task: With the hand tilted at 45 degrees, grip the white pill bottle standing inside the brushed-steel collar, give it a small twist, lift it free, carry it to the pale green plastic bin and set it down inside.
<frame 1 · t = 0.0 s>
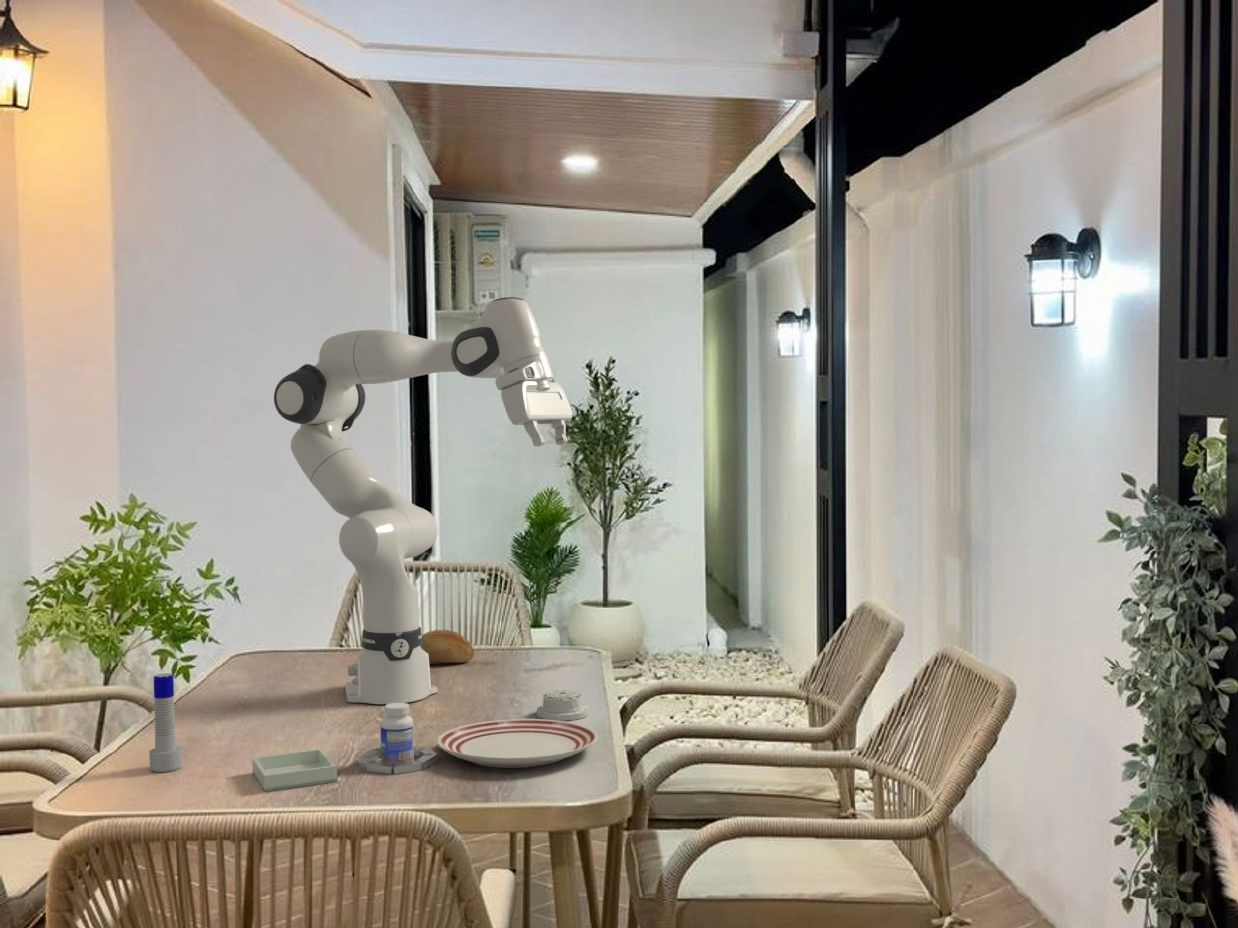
hand: (551, 444, 231), 52 cm above the table, fingers open, 8 cm apart
dinner plate: (518, 755, 208), on the table
pill bottle: (397, 763, 202), resting in collar
mechanical component: (562, 716, 233), on the table
bolt: (166, 769, 200), on the table
bread roll: (441, 665, 281), on the table
bin: (294, 776, 195), on the table
collar: (397, 762, 202), on the table
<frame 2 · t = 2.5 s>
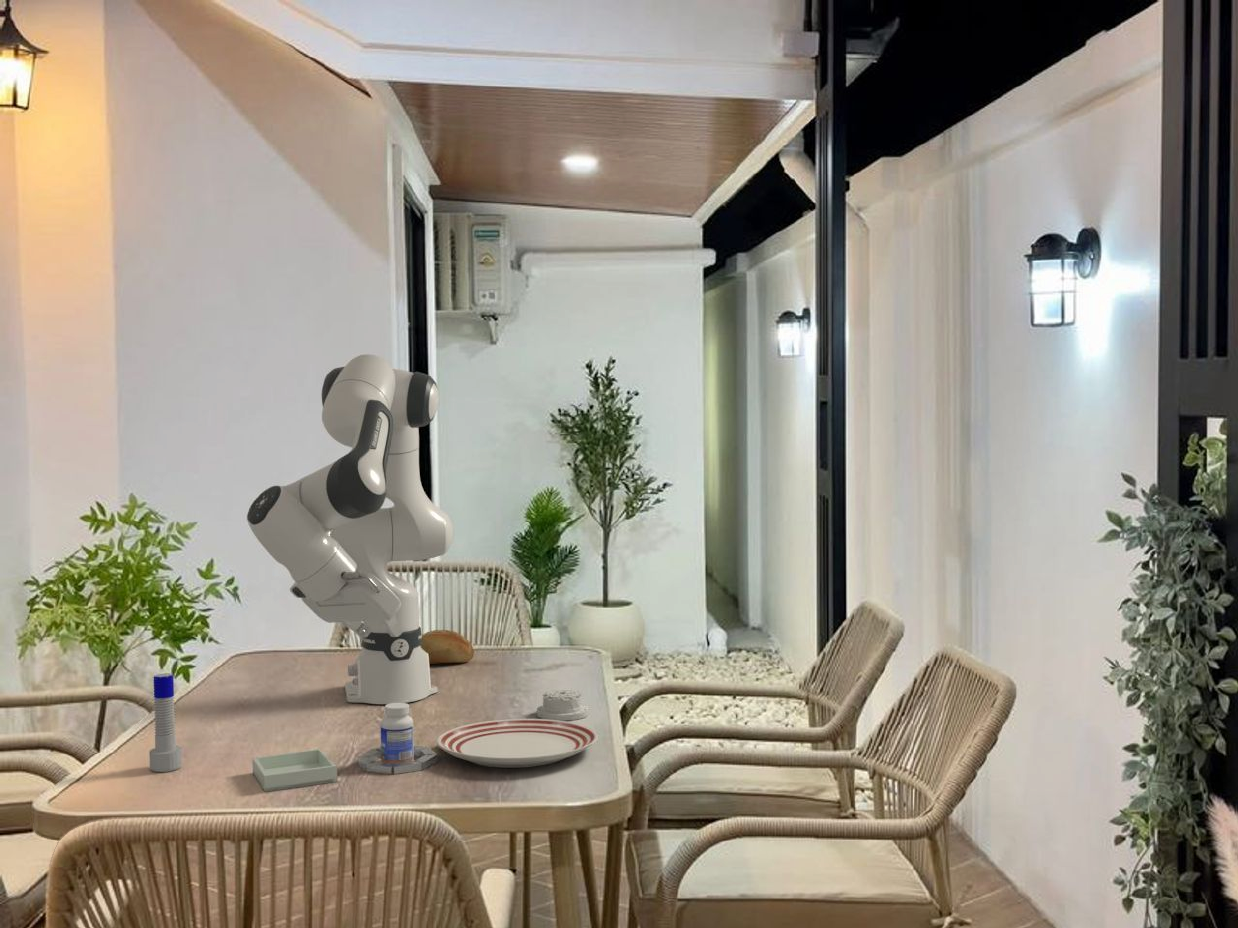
hand: (382, 634, 197), 22 cm above the table, fingers open, 8 cm apart
nothing on the table moved.
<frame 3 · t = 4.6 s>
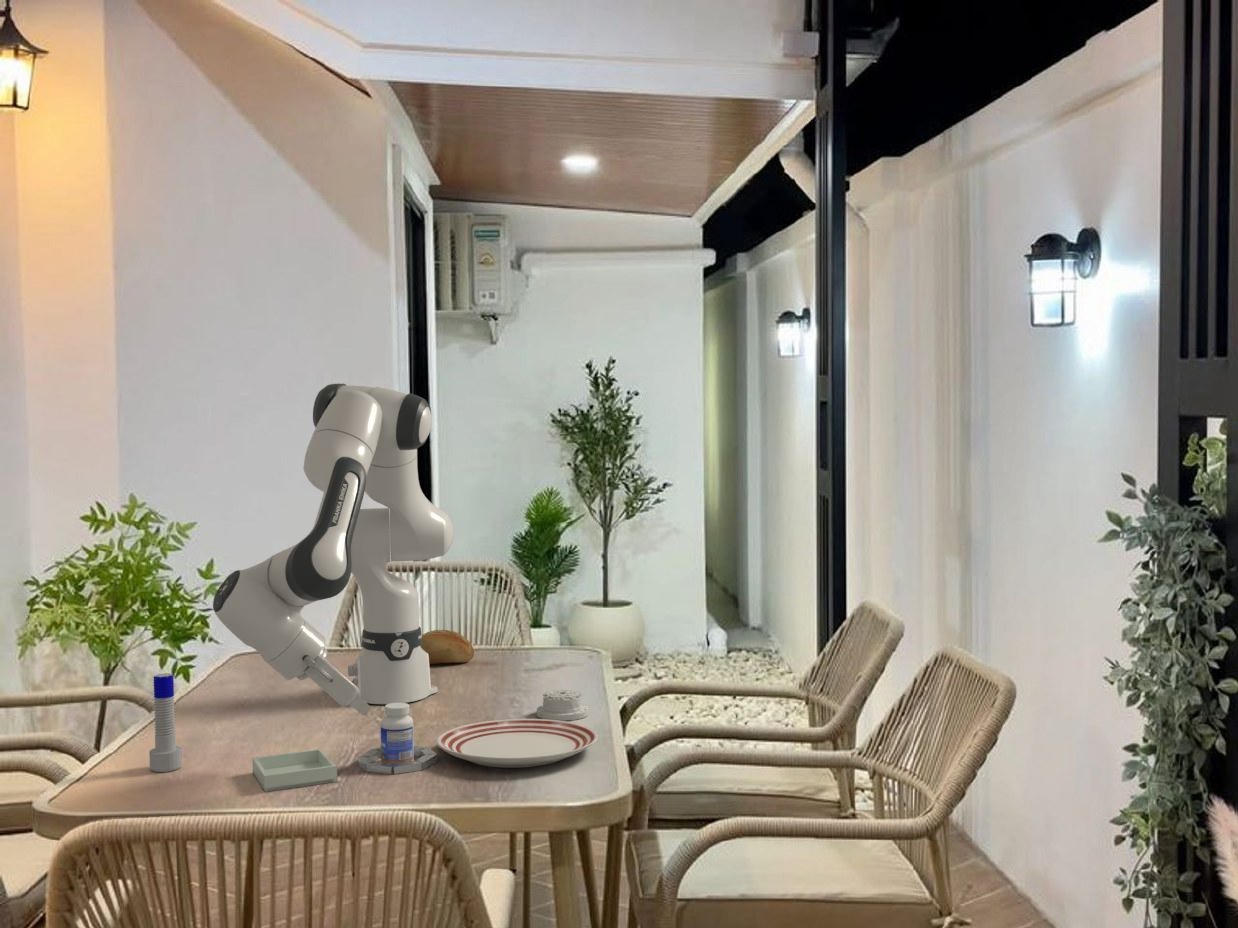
hand: (360, 704, 199), 10 cm above the table, fingers open, 8 cm apart
nothing on the table moved.
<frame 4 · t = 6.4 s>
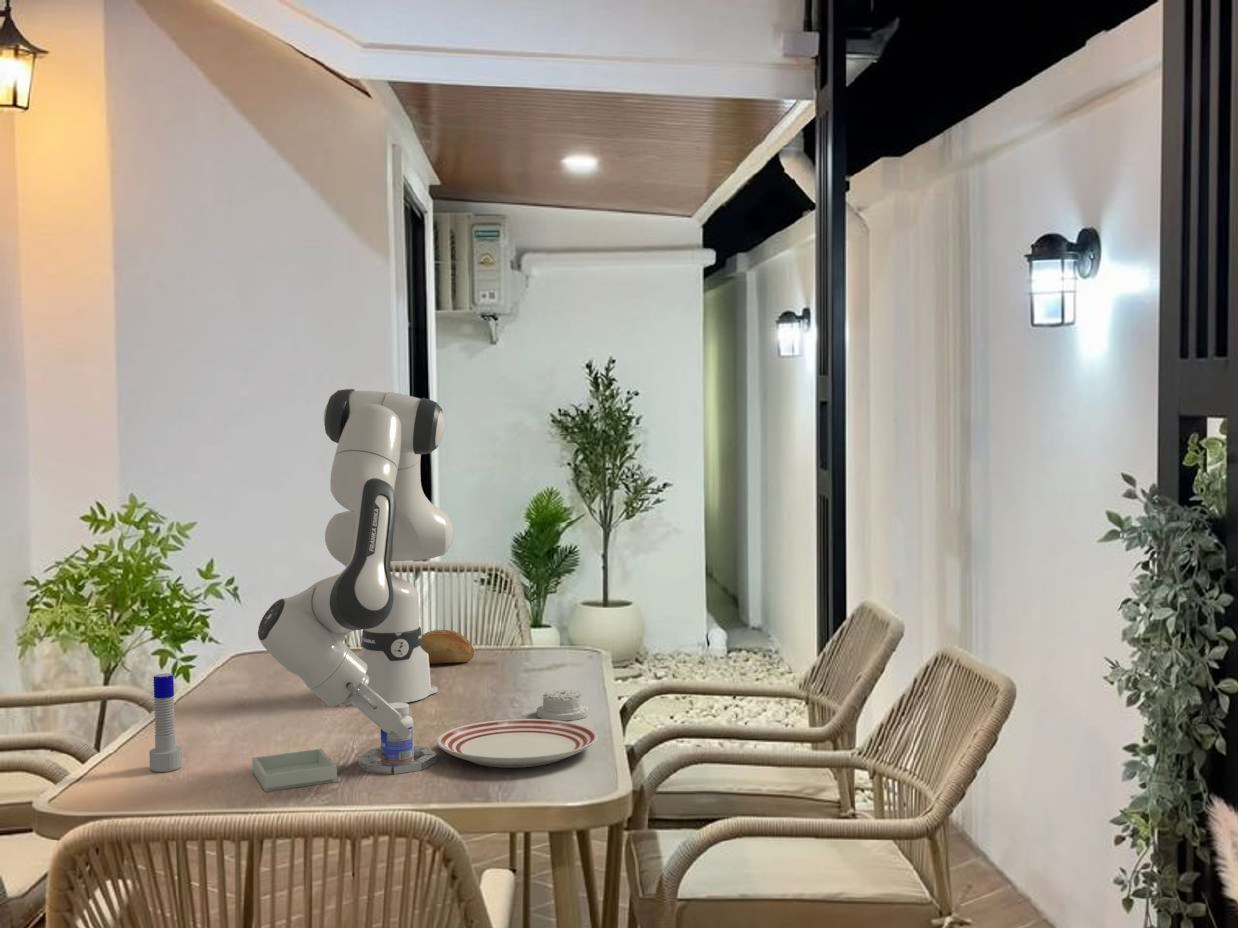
hand: (400, 730, 202), 5 cm above the table, fingers closed on pill bottle, 5 cm apart
pill bottle: (397, 763, 202), resting in collar, touching gripper
everything else where it was.
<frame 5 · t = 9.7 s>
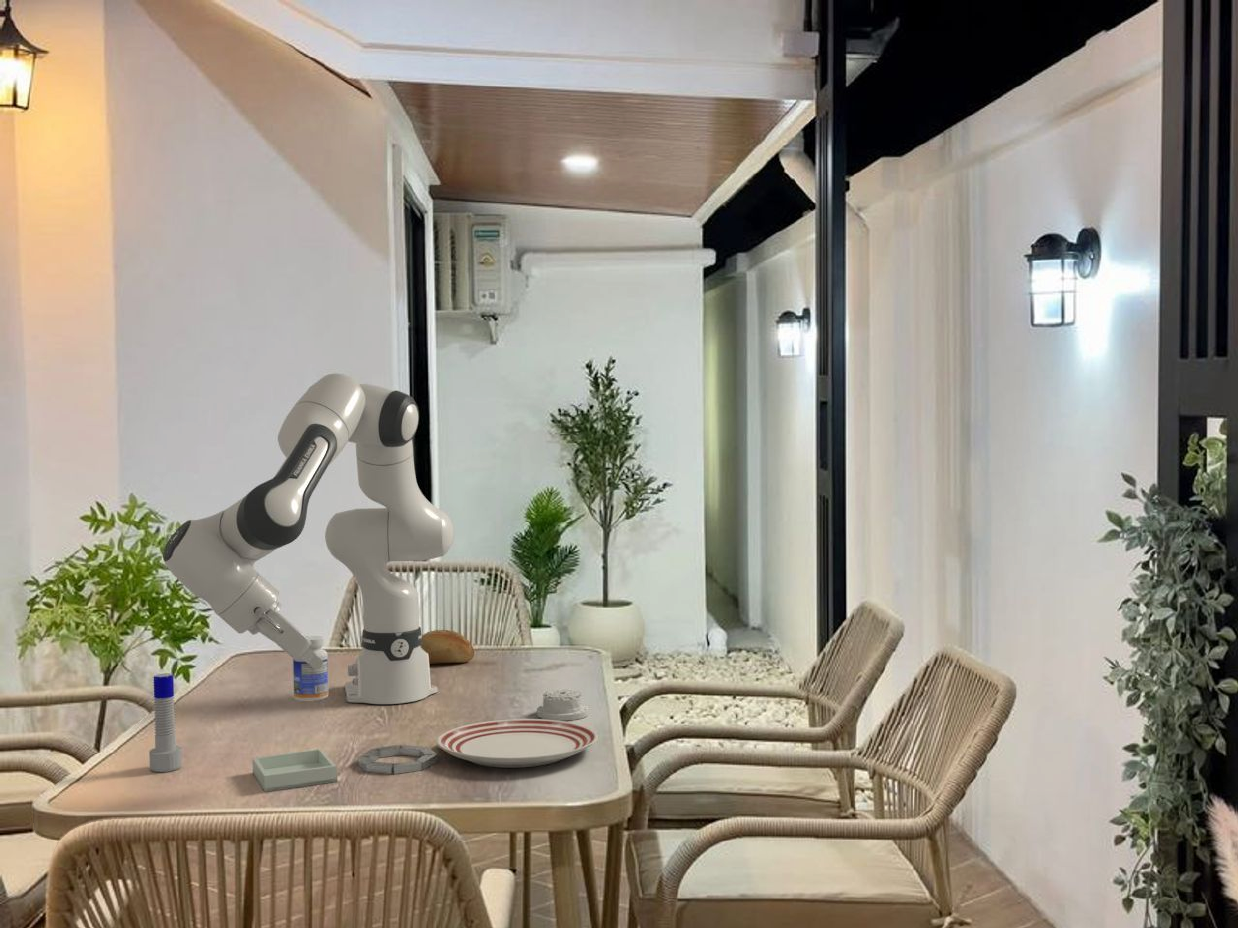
hand: (315, 662, 194), 19 cm above the table, fingers closed on pill bottle, 5 cm apart
pill bottle: (311, 699, 194), point 13 cm above the table, touching gripper
everything else where it was.
when the fingers open (7 cm above the table, at t = 12.3 s): pill bottle stays where it is, resting on bin.
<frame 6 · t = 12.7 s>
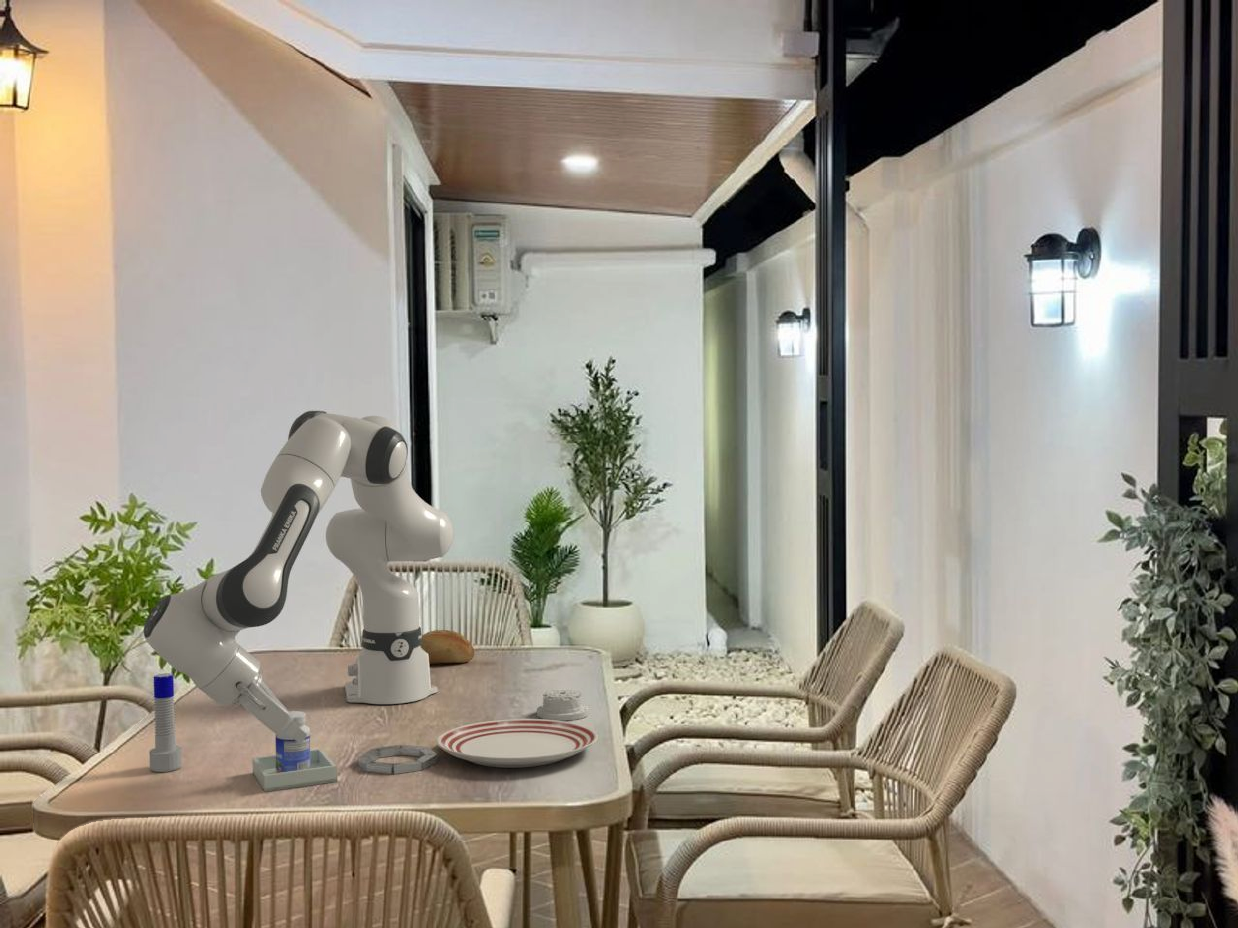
hand: (297, 731, 195), 7 cm above the table, fingers open, 8 cm apart
pill bottle: (293, 774, 195), resting on bin
everything else where it was.
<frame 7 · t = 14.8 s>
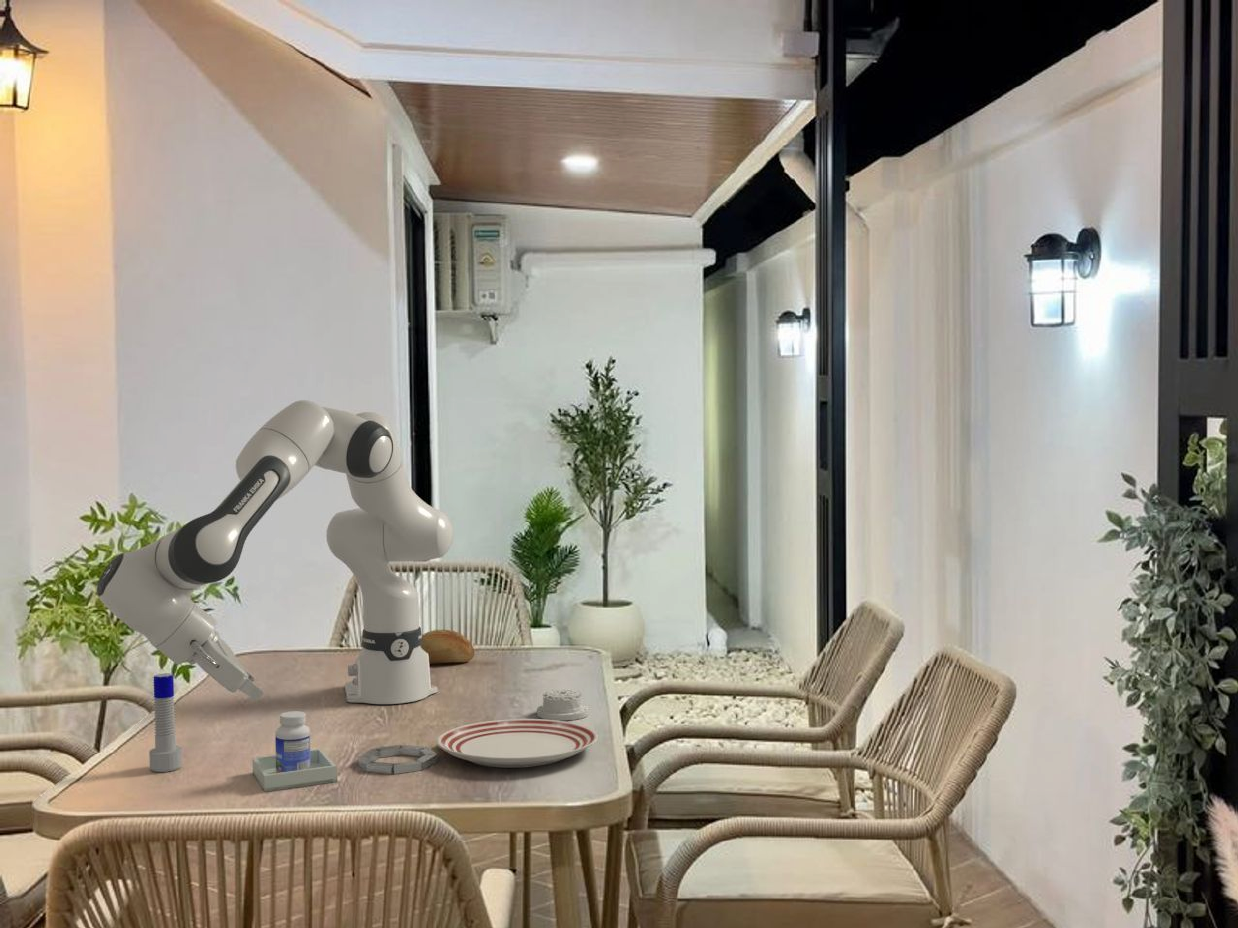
hand: (255, 689, 195), 14 cm above the table, fingers open, 8 cm apart
nothing on the table moved.
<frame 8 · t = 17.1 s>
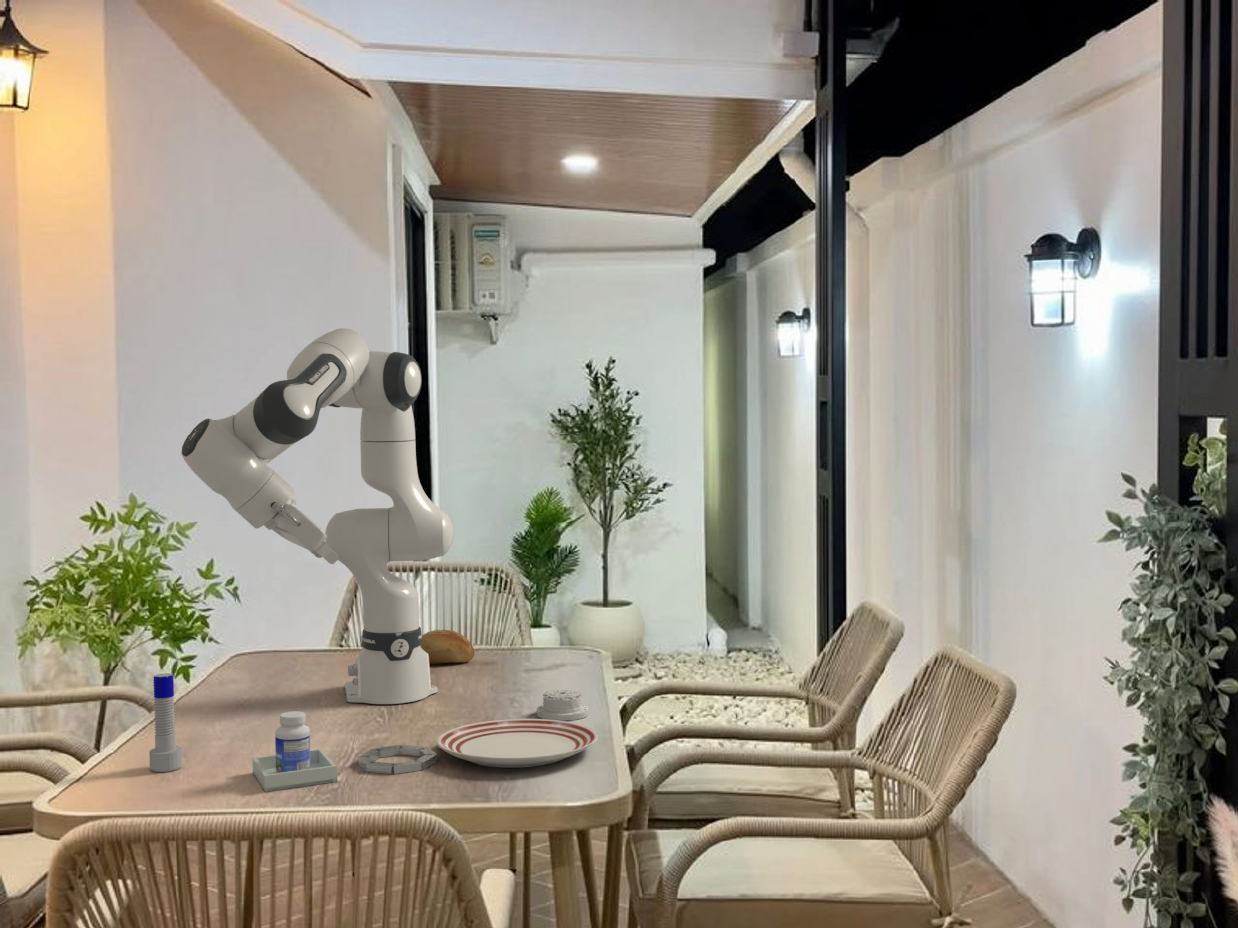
hand: (328, 557, 202), 34 cm above the table, fingers open, 8 cm apart
nothing on the table moved.
at the end: pill bottle inside the target area on the bin (0.1 cm from its centre), point 0.3 cm above the bin's base; pill bottle tilted 0°; the gripper is holding nothing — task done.
